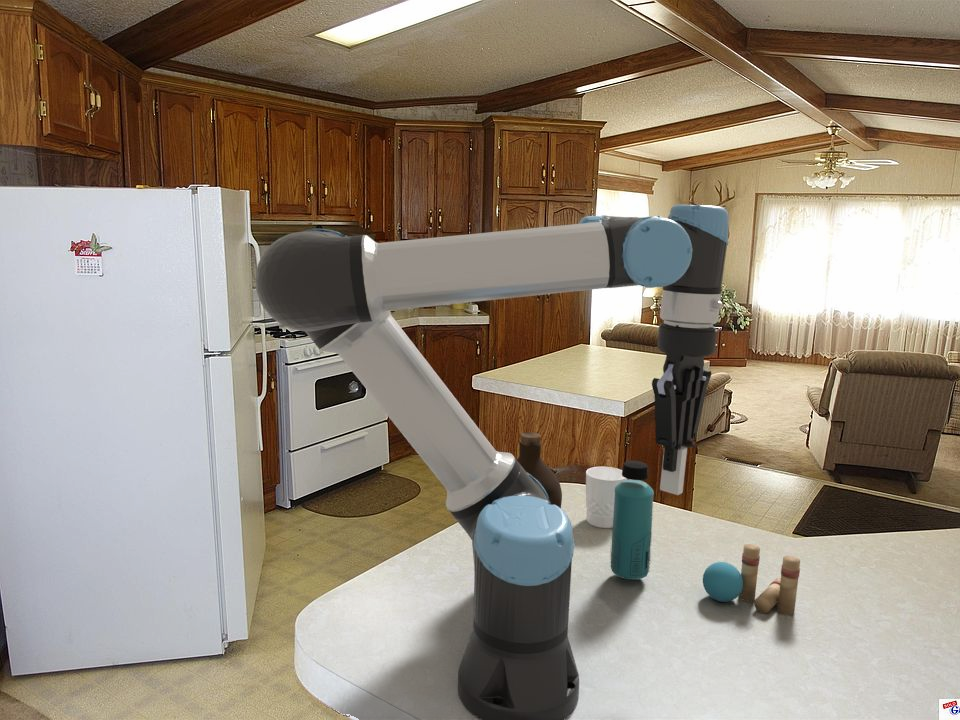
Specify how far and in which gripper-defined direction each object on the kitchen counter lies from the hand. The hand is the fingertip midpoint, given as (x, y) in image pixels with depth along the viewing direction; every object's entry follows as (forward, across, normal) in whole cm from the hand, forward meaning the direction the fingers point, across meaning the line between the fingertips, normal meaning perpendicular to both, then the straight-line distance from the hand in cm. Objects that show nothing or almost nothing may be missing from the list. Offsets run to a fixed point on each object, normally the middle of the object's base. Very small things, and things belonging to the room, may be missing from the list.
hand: (671, 491), depth 102 cm
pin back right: (+21, +19, -12) cm, 30 cm away
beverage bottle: (+22, +11, +11) cm, 26 cm away
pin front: (+20, +16, -9) cm, 27 cm away
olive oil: (+22, -2, +22) cm, 32 cm away
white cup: (+22, +28, +27) cm, 44 cm away
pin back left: (+21, +19, -6) cm, 29 cm away
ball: (+18, +15, -3) cm, 24 cm away
